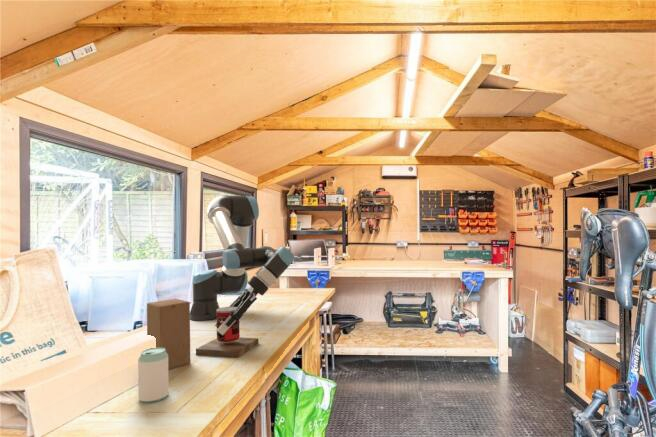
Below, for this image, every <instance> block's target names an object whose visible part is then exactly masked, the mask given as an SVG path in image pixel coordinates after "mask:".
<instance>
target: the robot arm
mask: <svg viewBox="0 0 656 437" xmlns="http://www.w3.org/2000/svg"><path fill="white" fill-rule="evenodd" d="M206 212H207V214H206V215H207V218H208V220H209V222H210V224H212V225H213V227H214V229H215V231H216V233H217V236H218V238H219V241H220V243H221V245H222V248H223V250H224V251H223V252H222V258H221V259H222V265H223V266H222V268H221V271H218V270H217V269H207V270H201V271H197V272H195V273H194V274H193V276H192V306H191V307H190V321H209V320H214V319H217V318H216V311H217V309H219V308H221V307H220V305H219V302H218V296H219V295H227V294H228V295H229V294H239V293H241V294H240V295H239V296H238V297H237V298H236V299H234V301H233V302H232V303H231V304H230V305H229V306H228V307H237V308H236V310H235V311H234V312H233V314H229V315H230V316H229V317H228V318H227V319H226V320H225V321H224V323H223V324H222V325H221V326H220V327H219V328H218V329H217V321H216V322H215V323H214V326H215V327H216V332H217V331H218V332H219V333H220V334H222V335H223V334H224V333H225V332H226V331H227V330H228V329H229V328H230V327H231V325H232V324H233V323H234V322H235V321H236V320H239V321H240V320H241V318H242V317H243V316H244V314H245V313H246V312H247V311H248V310H249V308H251V306H252V305H253V303H254V302H255V301H257V299H258V298H257V295H258V294H259V295H261V296H264V295H265V293H267V291H269V288H270V287H272V286H273V284H274V285H275V284H276V283H277V282H276V281H277V280H278V279H279V278H280V277H281V275H282V274H283V273H284V272H285V271H286V270H287V269H288V268H289V267H290V266H291V264H292V263H293V262H294V260H295V255H294V254H293V252H292V251H290V250H289V249H288V247H286V246H283V245H281V246H280V247H278V248H277V249H275V248H273V247H271V246H267V245H263V246H260V247H258V248H257V247H254V248H246V247H247V242H248V236H249V230H250V229H249V228H250V227H252V226H253V223H254V221H256V220H258V219H259V217H260V215H259V214H260V208H259V204H258V201H257V199H256V197H254V196H251V195H228V194H227V195H226V194H225V195H219V196H217V197H215V198H214V199H213V200H212V201H211V202H210V203H209V205H208V207H207V210H206ZM248 268H250V269H251V268H259V269H258V270H257V272H255V275H253V276H252V277H250V279H249V280H248V277H249V276H248V275H249V274H248V273H247V271H246V269H248ZM248 285H249V286H250V287H249V288H248V289H247V286H248Z"/></svg>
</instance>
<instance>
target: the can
mask: <svg viewBox="0 0 656 437" xmlns="http://www.w3.org/2000/svg"><path fill="white" fill-rule="evenodd" d="M137 362H138V364H137V367H138V368H137V372H138V373H137V374H138V378H137V379H138V380H137V381H138V382H137V383H138V388H137V389H138V390H137V391H138V393H137V394H138V400H139V401H141V402H143V403H148V404H149V403H156V402H159V401H162V400H164V398H165V397H167V396H168V394H169V392H170V391H169V388H170V387H169V386H170V385H169V369H168V354H167V353H166V351H165V348H150V349H147V348H146V349H144V350H142V351H141V352H140V356H139V357H138V359H137Z"/></svg>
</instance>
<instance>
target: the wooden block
mask: <svg viewBox="0 0 656 437" xmlns="http://www.w3.org/2000/svg"><path fill="white" fill-rule="evenodd" d="M190 311H191V303H190V301H187V300H183V299H179V298H178V299H177V298H173V299H171V298H170V299H164V300H160V301H159V300H157V301H152V302H148V303H146V331H147V332H146V336H147V335H151V336H154V337H155V338H156V348H165V351H166V353H167V354H168V370H172V369H176V368H178V367H182V366H185V365H189V364H190V363H191V319H190Z"/></svg>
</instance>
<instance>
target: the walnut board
mask: <svg viewBox="0 0 656 437" xmlns="http://www.w3.org/2000/svg"><path fill="white" fill-rule="evenodd" d="M257 345H259V338H258V337H245V336H244V337H243V336H242V337H240V336H239V339H238V340H235V341H231V342H220V341H218V340H217V337H216V338H214V339H213V340H211V341H208V342H206V343H205V344H202V345H200V346H199V347H197V348H195V355H196V356H206V357H207V356H209V357H220V358H221V357H222V358H235V359H236V358H239V357H240V356H242V355H245V353H247V352H248V351H250V350H251V349H253V348H254V347H255V346H257Z"/></svg>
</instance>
